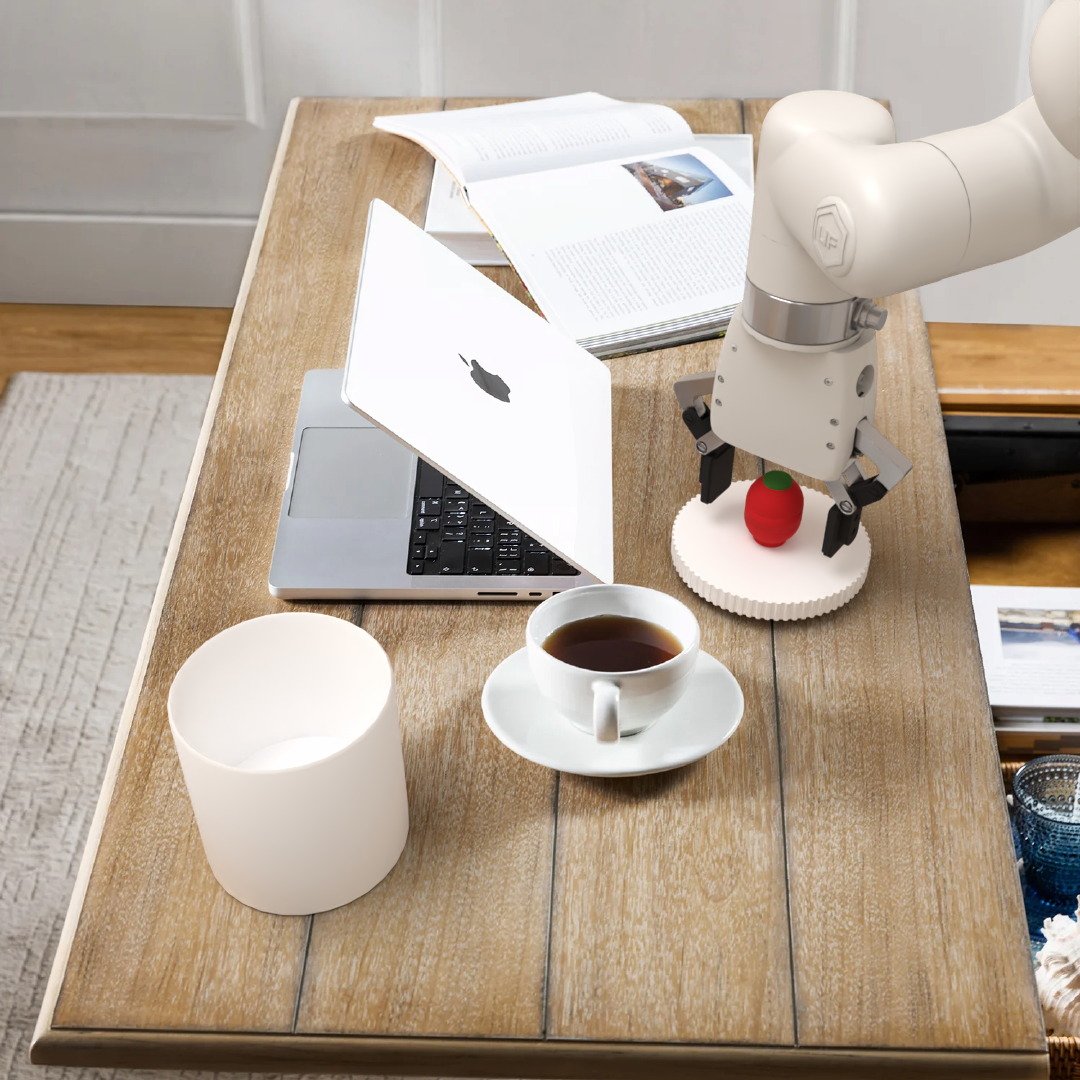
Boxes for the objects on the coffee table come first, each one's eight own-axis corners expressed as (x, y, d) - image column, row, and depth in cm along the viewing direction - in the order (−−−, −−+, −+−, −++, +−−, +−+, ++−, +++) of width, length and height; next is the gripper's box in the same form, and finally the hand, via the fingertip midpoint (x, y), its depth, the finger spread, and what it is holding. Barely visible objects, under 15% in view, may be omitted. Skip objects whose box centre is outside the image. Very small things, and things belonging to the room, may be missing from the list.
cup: (416, 753, 79) (402, 609, 71) (401, 916, 70) (383, 772, 62) (226, 754, 79) (192, 610, 71) (186, 917, 70) (142, 773, 62)
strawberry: (808, 534, 91) (818, 475, 88) (780, 562, 89) (789, 503, 85) (759, 512, 93) (767, 454, 90) (730, 540, 91) (737, 481, 87)
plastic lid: (676, 498, 99) (678, 472, 97) (861, 514, 97) (866, 488, 95) (662, 620, 88) (665, 593, 86) (870, 641, 86) (876, 613, 85)
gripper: (962, 320, 77) (912, 540, 88) (717, 242, 85) (698, 452, 96) (907, 372, 72) (861, 598, 83) (654, 284, 81) (642, 500, 91)
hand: (774, 519), depth 90 cm, fingers open, 9 cm apart
